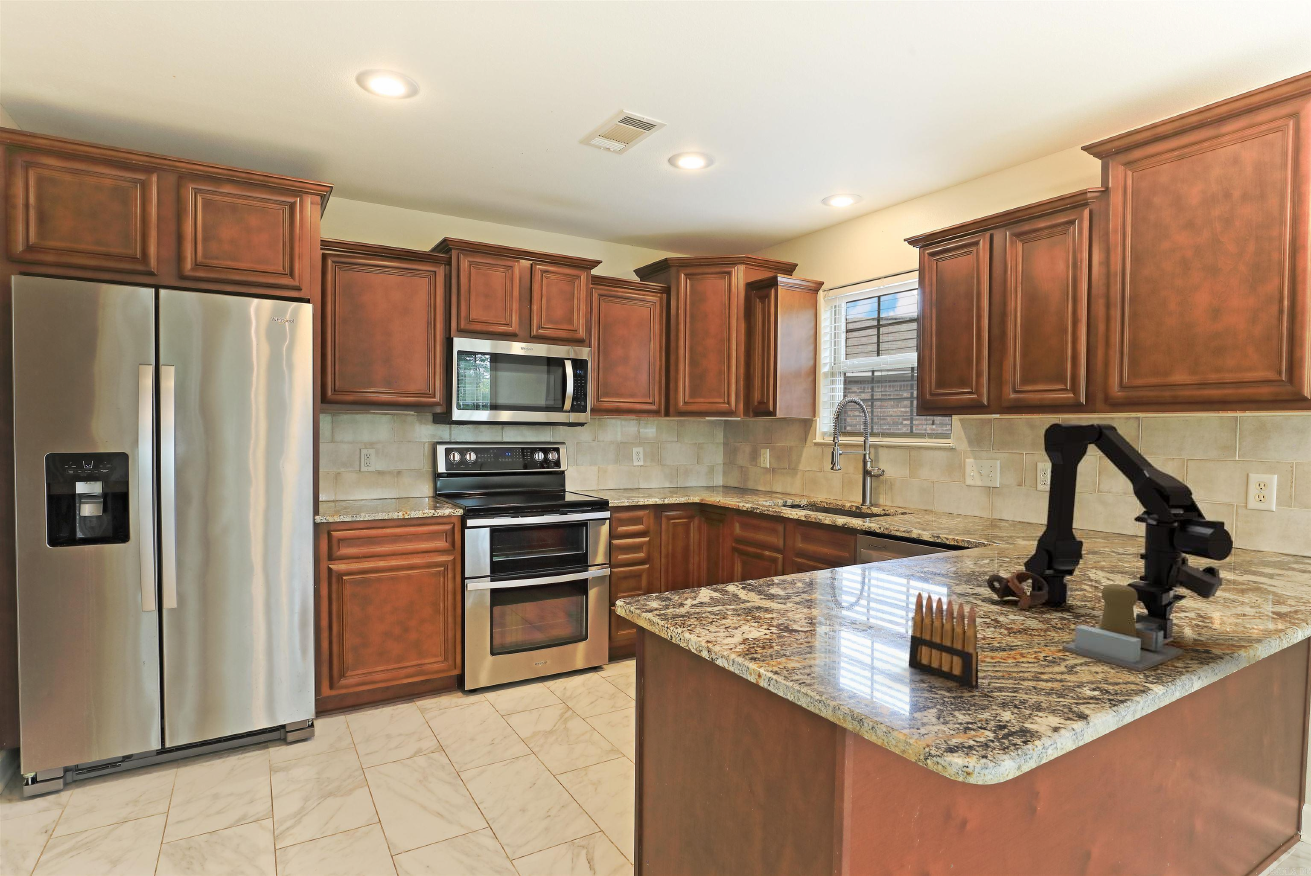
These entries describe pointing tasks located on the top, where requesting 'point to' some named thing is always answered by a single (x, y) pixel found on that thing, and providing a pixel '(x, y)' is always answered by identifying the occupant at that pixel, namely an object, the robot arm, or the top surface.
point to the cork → (1119, 609)
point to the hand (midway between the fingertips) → (1160, 632)
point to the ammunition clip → (945, 642)
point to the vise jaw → (1152, 630)
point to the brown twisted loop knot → (1018, 588)
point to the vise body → (1118, 649)
